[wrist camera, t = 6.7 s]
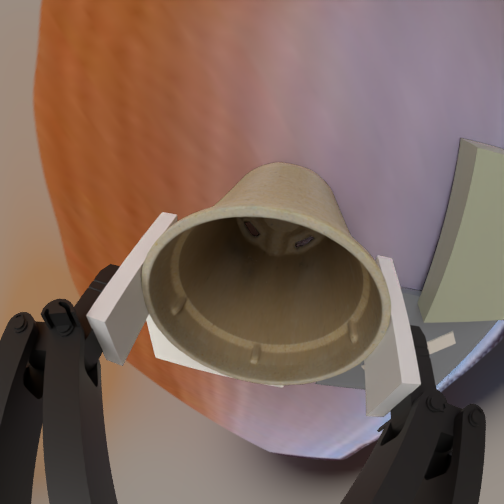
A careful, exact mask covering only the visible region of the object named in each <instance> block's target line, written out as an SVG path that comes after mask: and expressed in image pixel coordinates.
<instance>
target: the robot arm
mask: <svg viewBox="0 0 504 504" xmlns="http://www.w3.org/2000/svg"><path fill="white" fill-rule="evenodd" d="M176 222H177V215H176V214H170V213H165V212H162V213H161V214H160V216H159V217H158V218H157V219H156V220H155V222H154V223H153V224H152V225H151V227H150V228H149V229H148V230H147V232H146V233H145V234H144V236H143V237H142V238H141V239H140V241H139V242H138V243H137V245H136V246H135V247H134V249H133V250H132V251H131V252H130V254H129V255H128V256H127V258H126V259H125V261H124V262H123V263H122V265H121V266H116V265H112V264H110V265H108V266H107V267H105V268H104V269H103V270H101V271H100V272H99V274H98V275H97V276H96V278H95V279H94V281H93V282H92V283H91V284H90V286H89V288H87V290H86V291H85V292H84V294H83V295H82V297H81V298H80V300H79V301H78V302H77V304H76V305H75V306H74V307H73V305H72V304H71V302H69V301H68V300H66V299H57V300H53V301H51V302H50V303H48V304H47V305H46V306H45V307H44V308H43V310H42V313H41V315H42V318H43V319H44V321H45V322H35V320H34V319H33V317H32V316H31V314H29V313H27V312H21V313H18V314H16V315H14V316H13V317H12V318H11V319H10V321H9V322H8V324H7V326H6V329H5V331H4V333H3V335H2V338H1V340H0V504H31V498H32V486H33V477H34V469H35V462H36V455H37V449H38V443H39V438H40V433H41V428H42V423H43V447H44V462H45V473H46V481H47V490H48V496H49V503H50V504H118V503H117V499H116V494H115V489H114V485H113V479H112V474H111V468H110V463H109V456H108V450H107V442H106V434H105V425H104V416H103V403H102V388H101V365H100V361H99V357H100V356H101V354H102V352H103V354H104V356H105V358H106V360H109V361H111V362H114V363H117V364H119V365H122V366H123V364H124V362H125V360H126V358H127V356H128V354H129V352H130V350H131V348H132V346H133V344H134V342H135V340H136V338H137V336H138V334H139V332H140V331H141V329H142V327H143V325H144V323H145V321H146V319H147V317H148V315H149V312H148V310H147V308H146V305H145V301H144V297H143V291H142V284H141V274H142V269H143V263H144V261H145V258H146V256H147V253H148V252H149V250H150V249H151V247H152V246H153V244H154V243H155V242H156V240H157V239H158V238H159V237H160V236H161V235H162V234H163V233H164V232H165V231H166V230H167V229H168V228H169V227H171V226H172V225H173V224H175V223H176ZM375 262H376V263H377V265H378V266H379V268H380V270H381V272H382V273H383V276H384V278H385V280H386V283H387V287H388V290H389V294H390V299H391V316H390V322H389V326H388V328H387V331H386V333H385V335H384V337H383V339H382V340H381V342H380V343H379V344H378V346H377V347H376V348H375V350H374V351H373V352H372V353H371V354H370V355H369V356H368V357H367V358H366V359H364V367H365V387H366V416H373V417H384V416H385V415H386V414H388V413H389V412H390V411H391V419H390V420H389V421H388V422H386V423H385V424H384V425H382V426H381V427H380V428H379V429H378V430H377V431H378V432H380V431H381V430H383V429H384V430H383V432H382V434H381V436H380V438H379V440H378V441H377V443H376V446H375V447H374V449H373V451H372V453H371V455H370V456H369V458H368V460H367V462H366V463H365V465H364V467H363V469H362V470H361V472H360V474H359V475H358V477H357V479H356V480H355V482H354V483H353V485H352V487H351V488H350V490H349V491H348V493H347V494H346V496H345V497H344V499H343V500H342V502H341V504H478V502H479V496H480V489H481V482H482V474H483V465H484V452H485V430H486V424H485V423H486V420H485V414H484V412H483V410H482V409H481V408H480V407H479V406H478V405H476V404H470V405H468V406H466V407H465V408H464V409H461V408H458V407H455V406H453V405H450V404H448V403H447V400H446V398H445V397H444V395H443V394H442V393H441V392H440V391H438V390H437V389H436V385H435V379H434V374H433V369H432V364H431V359H430V358H429V356H430V354H429V350H428V349H427V348H428V345H427V341H426V337H425V335H424V333H423V332H422V330H421V328H420V327H419V326H414V325H410V324H409V320H408V315H407V311H406V307H405V303H404V299H403V295H402V292H401V288H400V284H399V281H398V277H397V274H396V270H395V267H394V263H393V260H392V258H388V257H383V256H379V255H378V256H377V258H376V260H375Z"/></svg>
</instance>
